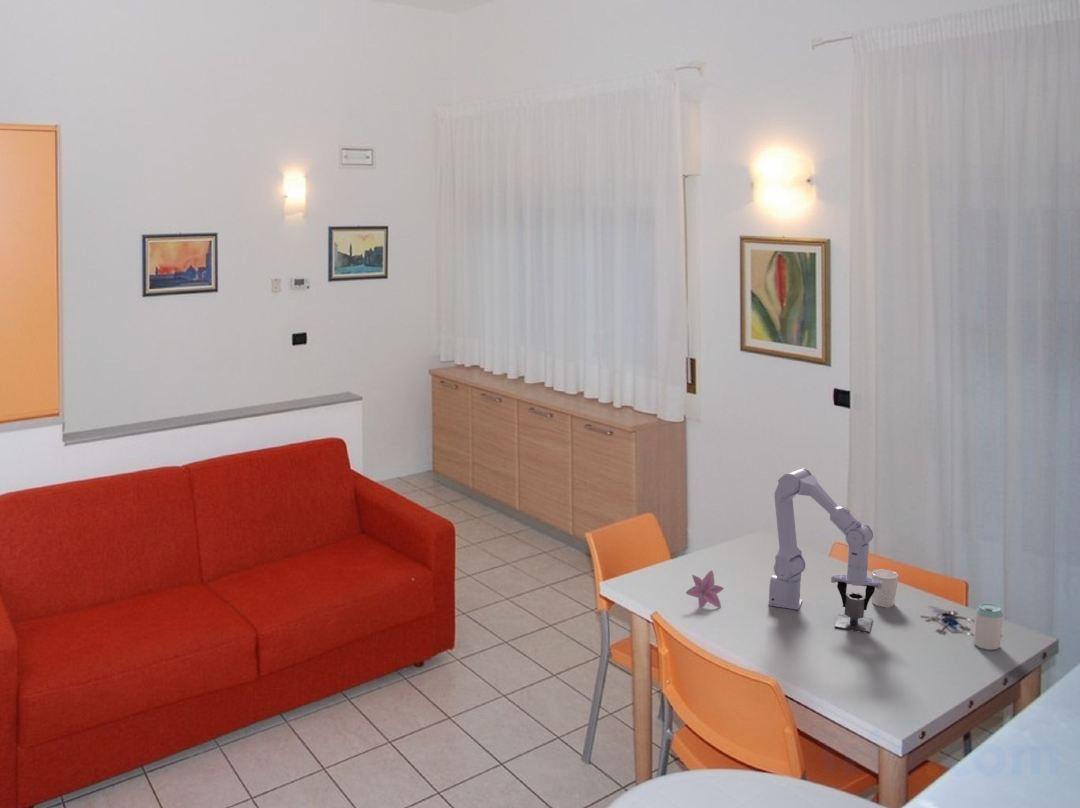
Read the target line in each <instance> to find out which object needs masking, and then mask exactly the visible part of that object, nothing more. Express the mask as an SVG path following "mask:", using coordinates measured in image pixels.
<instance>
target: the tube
mask: <svg viewBox="0 0 1080 808" xmlns="http://www.w3.org/2000/svg"><path fill="white" fill-rule="evenodd" d="M864 604H865V594H862V593H859V592H855V591H853V592H848V593H847V592H846V602H845V607H844V613H843V614H844V615H846V616H848V617H850V618H855V619H859V618H863V617H864V615H865V610H864Z"/></svg>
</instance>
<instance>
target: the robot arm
mask: <svg viewBox="0 0 1080 808" xmlns="http://www.w3.org/2000/svg"><path fill="white" fill-rule="evenodd" d="M777 482H778V483H777V487H776V488H775V491H774V494H773V495H774V505H775V515H776V517H775V518H776V526H777V528H776V529H777V537H778V545H779V548H778V551H777V553H776V554H775V563H774V566H773V572H774V574H771V577H770V581H769V593H768V604H767V605H768V606H771V607H776V608H777V607H778V608H784V609H791V610H797V611H799V610H800V608H801V606H802V603H803V599H802V598H801V597H800V596H801V583H802V581H801V579H802V573H803V572H804V571H805V569H806V560H805V558H804V557H803V554H802V550H801V549H800V548H799V547H798V544H797V534H796V533H797V532H796V522H795V521H796V519H795V512H794V501H793V499H794V498H795V497H796V496H797V495H798V496H805V497H811V498H812V500H814V501H815V502H816V503H817V504H818V505H819V506H820V507H821V508H823V510H825V511H826V512H827V513H828V514H829V520H830V521H831V523H833V525H835V526H836V528H837V529H838V530H839V531H841V532H842V533H843V535H845V541H846V543H847V545H848V552H847V553H848V555H847V557H848V559H847V569H846V570H847V571H846V574H835V573H834V574H832V575H831V578H830V581H831V582H830V583H833V584H834V583H837V585H836V588H837V591H838V592H839V595H840V598H841V600H842V607H843V608H845V602H846V595H847V590H848V589H847V588H848V587H847V586H848V585H852V586H857V587H858V586H859V587H860V586H861V587H865V591H864V592H865V594H864V596H865V604H864V611H867V609H868V604H869V601H870V600H871V599H872V595H873V593H874V591H875V588H878V589H882V581H879V580H874V579H872V577H868V567H869V566H868V565H869V551H870V549H869V548H870V542H871V541H872V540H873V539H874V538H873V537H874V533H873V531H872V529H871V527H870V526H869V525H868V524H865V523H862V522H861V521H860V520H858V519H857V518H856V517H855V516H854V515H853V514H852V513H851V510H850V509H849V508H846V507H844V506H840V505H839V506H838V504H837V503H836V502H835V501H834V499H832V497H830V495H829V494H828V493H827V492H826V490H824V488H823V487H822V486H821V485H820V483H818V480H817V478H816V476H815V475H813V474H812V473H811V471H810V470H809V469H807V468H805V467H800V468H798V469H796V470H793V471H791V472H788V473H785V474H783V475H782V476H781V477H779V478H778V479H777Z"/></svg>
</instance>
